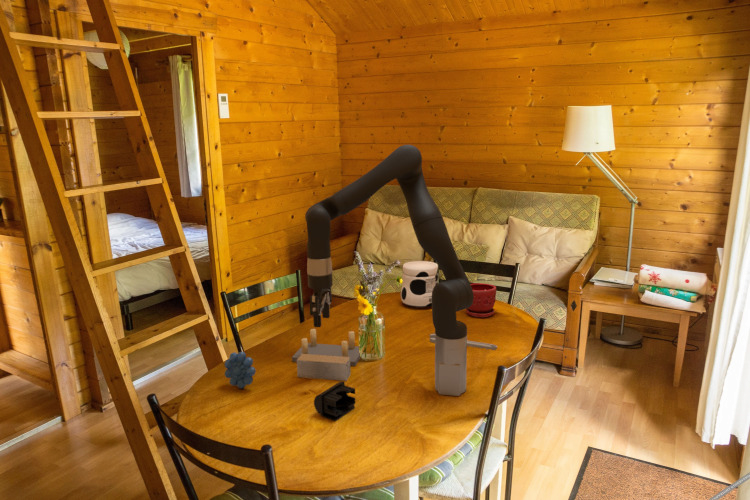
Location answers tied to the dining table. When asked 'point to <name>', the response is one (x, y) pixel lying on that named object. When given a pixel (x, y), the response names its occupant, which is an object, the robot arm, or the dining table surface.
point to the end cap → (335, 401)
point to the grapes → (239, 369)
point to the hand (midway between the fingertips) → (321, 322)
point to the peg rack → (329, 348)
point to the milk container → (419, 283)
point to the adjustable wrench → (471, 343)
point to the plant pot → (482, 300)
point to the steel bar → (323, 367)
